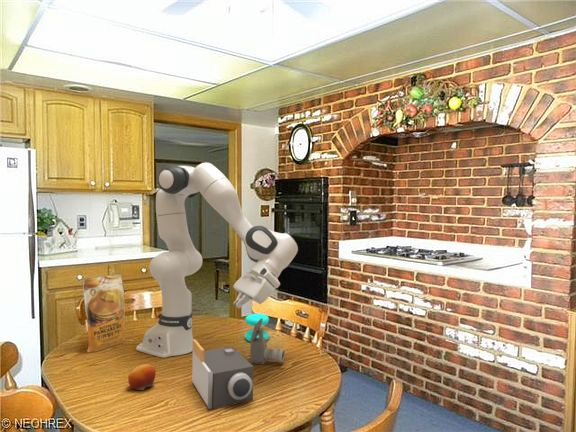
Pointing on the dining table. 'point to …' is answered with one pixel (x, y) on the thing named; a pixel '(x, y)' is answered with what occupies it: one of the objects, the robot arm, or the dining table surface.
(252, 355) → the camera
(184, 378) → the dining table surface
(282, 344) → the dining table surface
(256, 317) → the turquoise spool
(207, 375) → the side door
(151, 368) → the fruit
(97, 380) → the dining table surface
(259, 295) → the robot arm
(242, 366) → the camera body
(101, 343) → the pancake mix bag
